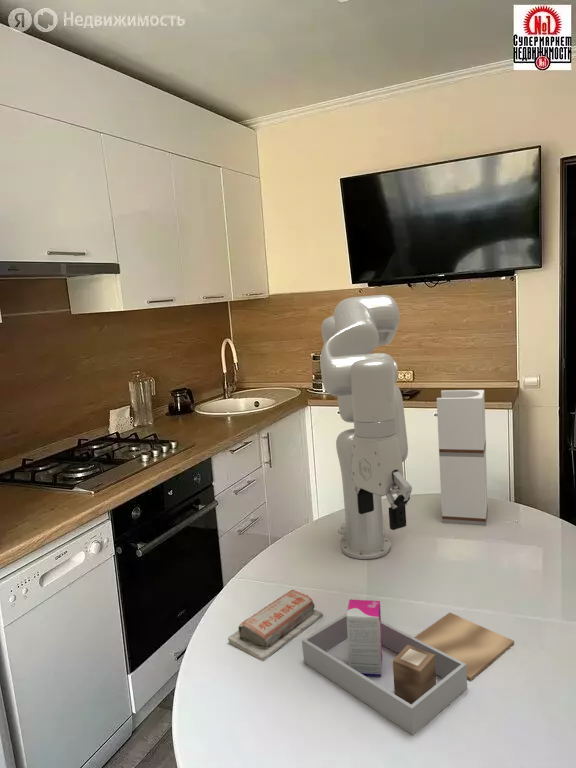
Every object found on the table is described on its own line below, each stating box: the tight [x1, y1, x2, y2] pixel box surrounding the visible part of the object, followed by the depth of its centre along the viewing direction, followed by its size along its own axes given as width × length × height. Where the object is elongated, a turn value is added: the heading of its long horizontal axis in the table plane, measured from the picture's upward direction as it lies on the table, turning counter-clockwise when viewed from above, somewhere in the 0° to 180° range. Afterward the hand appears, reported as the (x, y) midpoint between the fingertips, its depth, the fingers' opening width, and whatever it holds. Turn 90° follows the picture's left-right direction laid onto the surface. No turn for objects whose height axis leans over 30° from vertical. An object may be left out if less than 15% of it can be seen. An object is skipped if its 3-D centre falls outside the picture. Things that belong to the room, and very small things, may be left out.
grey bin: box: [301, 612, 468, 735], centre depth 104 cm, size 25×14×4 cm, turn 40°
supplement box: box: [346, 599, 383, 678], centre depth 106 cm, size 6×6×12 cm
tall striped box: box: [436, 389, 489, 527], centre depth 163 cm, size 11×11×35 cm
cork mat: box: [413, 612, 515, 682], centre depth 110 cm, size 14×14×1 cm
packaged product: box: [227, 589, 324, 661], centre depth 120 cm, size 18×5×10 cm
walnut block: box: [392, 645, 437, 704], centre depth 98 cm, size 5×5×7 cm
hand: (381, 519), depth 108 cm, fingers open, 9 cm apart
